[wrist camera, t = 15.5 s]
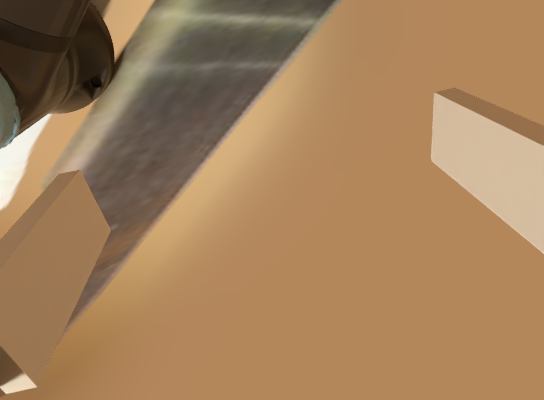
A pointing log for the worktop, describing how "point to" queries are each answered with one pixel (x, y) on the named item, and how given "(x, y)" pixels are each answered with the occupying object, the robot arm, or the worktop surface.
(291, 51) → the worktop surface
